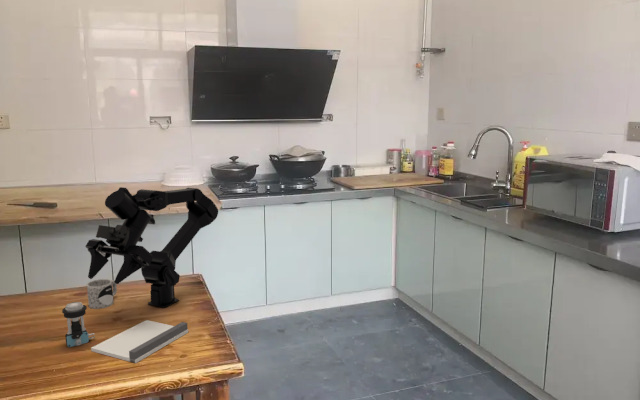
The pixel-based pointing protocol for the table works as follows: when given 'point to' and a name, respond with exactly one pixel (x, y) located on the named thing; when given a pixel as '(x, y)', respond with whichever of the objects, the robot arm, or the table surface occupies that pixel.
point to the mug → (101, 293)
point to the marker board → (141, 340)
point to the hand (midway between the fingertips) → (102, 280)
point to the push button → (76, 324)
